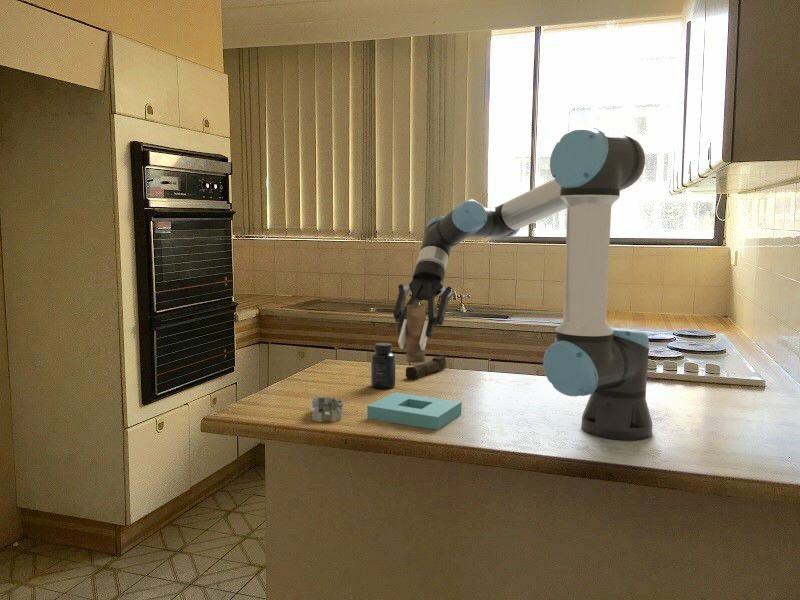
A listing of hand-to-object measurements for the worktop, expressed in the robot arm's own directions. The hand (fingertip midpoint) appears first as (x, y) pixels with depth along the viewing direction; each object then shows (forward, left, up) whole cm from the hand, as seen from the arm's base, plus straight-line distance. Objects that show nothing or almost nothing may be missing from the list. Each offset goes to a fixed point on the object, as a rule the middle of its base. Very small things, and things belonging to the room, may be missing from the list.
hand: (411, 345), depth 152 cm
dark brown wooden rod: (+16, -45, -18) cm, 51 cm away
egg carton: (+19, +6, -18) cm, 27 cm away
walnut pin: (+1, -4, -4) cm, 6 cm away
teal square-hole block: (+1, -4, -18) cm, 18 cm away
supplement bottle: (+21, -25, -18) cm, 37 cm away
